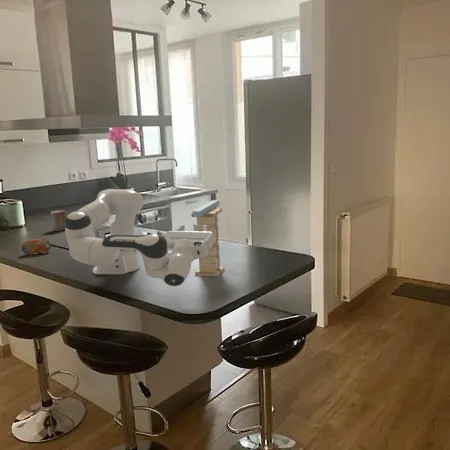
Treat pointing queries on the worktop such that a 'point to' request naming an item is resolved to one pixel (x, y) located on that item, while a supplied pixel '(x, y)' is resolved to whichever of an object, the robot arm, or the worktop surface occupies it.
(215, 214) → the stand
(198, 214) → the frame bar
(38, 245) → the tin
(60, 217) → the pillar candle
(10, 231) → the worktop surface
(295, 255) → the worktop surface
